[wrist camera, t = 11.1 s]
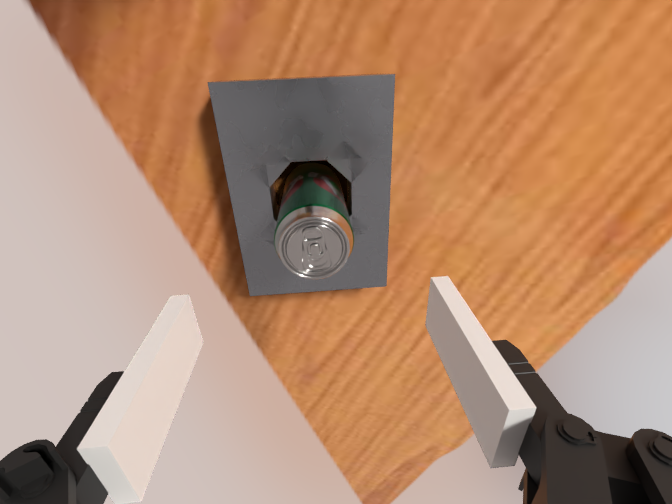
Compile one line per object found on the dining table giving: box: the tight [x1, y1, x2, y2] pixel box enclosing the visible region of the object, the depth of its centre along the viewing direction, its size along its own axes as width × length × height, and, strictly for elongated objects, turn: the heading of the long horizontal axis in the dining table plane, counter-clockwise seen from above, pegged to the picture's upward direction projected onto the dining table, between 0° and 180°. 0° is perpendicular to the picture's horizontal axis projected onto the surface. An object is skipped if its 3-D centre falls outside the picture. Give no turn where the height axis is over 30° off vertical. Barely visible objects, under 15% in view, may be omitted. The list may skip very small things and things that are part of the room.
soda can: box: [274, 162, 354, 280], centre depth 25 cm, size 5×5×12 cm
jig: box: [208, 74, 395, 296], centre depth 29 cm, size 18×13×4 cm
